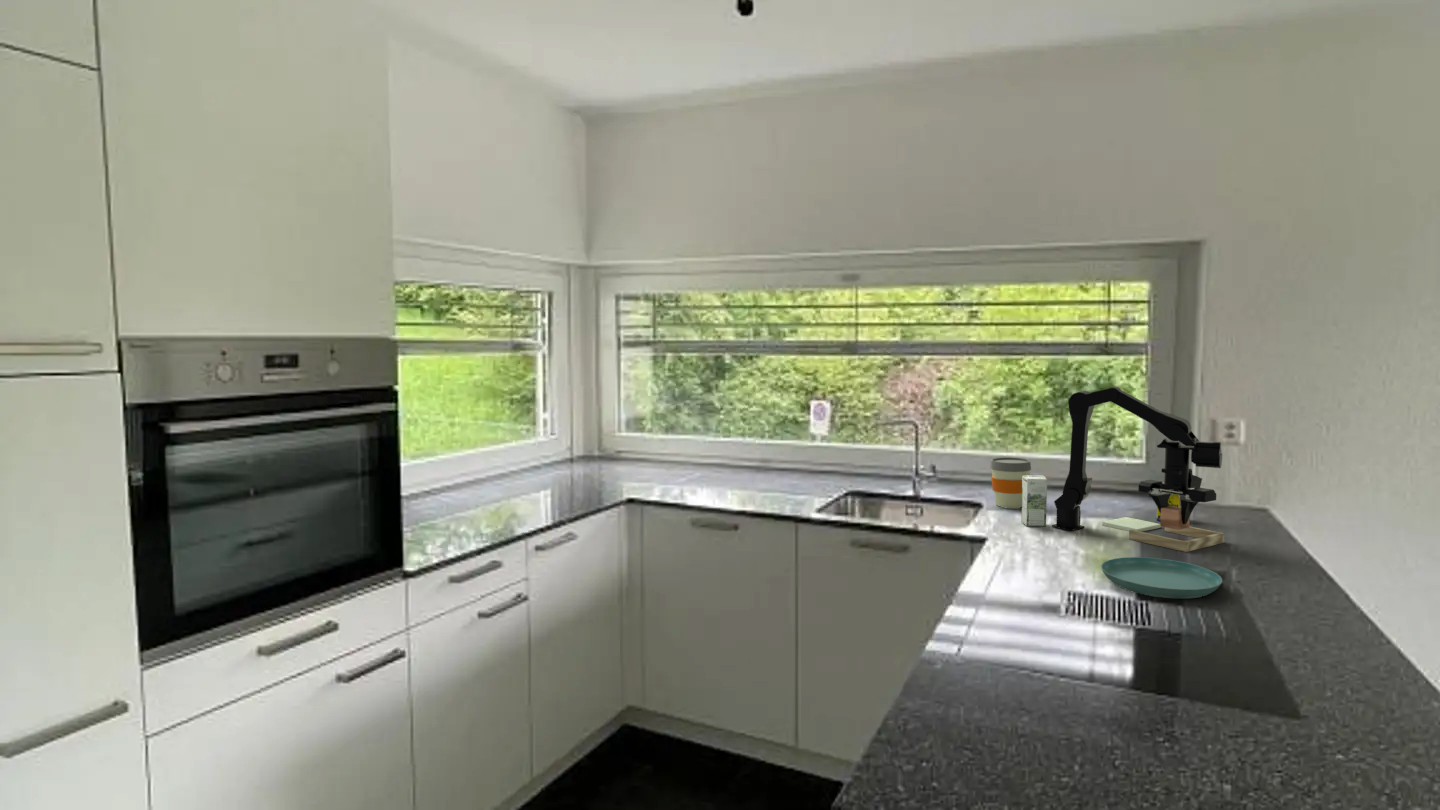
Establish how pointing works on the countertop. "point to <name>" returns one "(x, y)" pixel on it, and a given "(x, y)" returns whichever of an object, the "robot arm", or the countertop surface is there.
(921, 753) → the countertop surface
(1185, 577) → the teal plate
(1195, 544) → the open wooden frame
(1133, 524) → the pad
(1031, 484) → the syrup box
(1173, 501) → the supplement box
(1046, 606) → the countertop surface
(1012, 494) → the reusable coffee cup
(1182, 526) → the terracotta cube
